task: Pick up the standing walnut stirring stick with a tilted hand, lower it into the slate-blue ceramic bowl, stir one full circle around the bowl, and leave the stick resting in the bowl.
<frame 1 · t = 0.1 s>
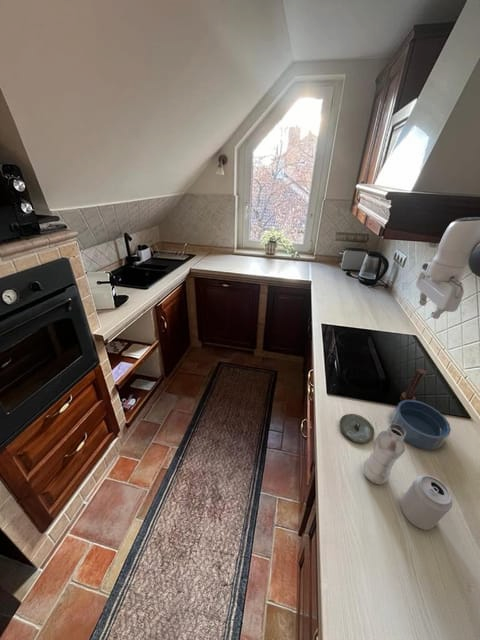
hand: (427, 310, 86), 34 cm above the worktop, tool pointing down, fingers open, 8 cm apart
can: (415, 513, 64), on the worktop
lid: (355, 431, 84), on the worktop
bowl: (415, 430, 85), on the worktop
stirring stick: (406, 401, 95), on the worktop
plastic bottle: (373, 475, 72), on the worktop
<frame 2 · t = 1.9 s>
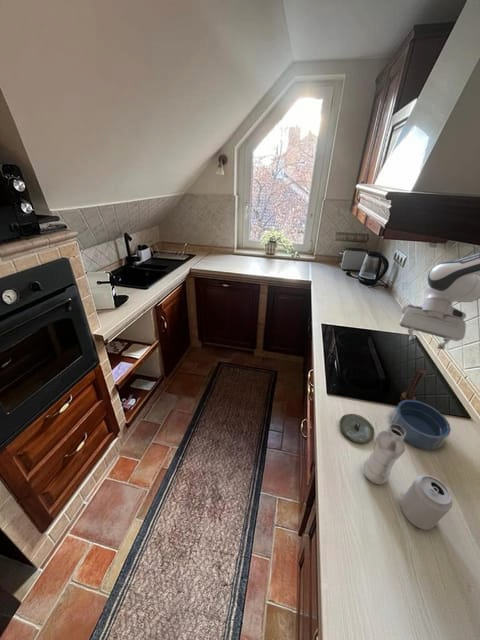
hand: (425, 344, 94), 19 cm above the worktop, tool tilted 45°, fingers open, 8 cm apart
nothing on the worktop moved.
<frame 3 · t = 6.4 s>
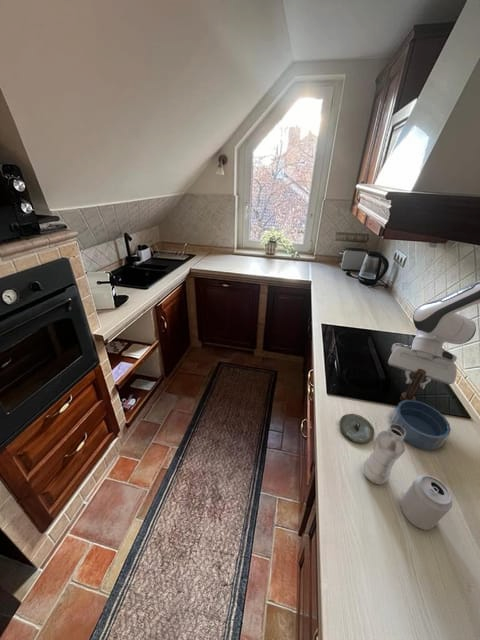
hand: (414, 386, 91), 8 cm above the worktop, tool tilted 45°, fingers closed on stirring stick, 2 cm apart
stirring stick: (406, 401, 95), on the worktop, touching gripper
everything else where it was.
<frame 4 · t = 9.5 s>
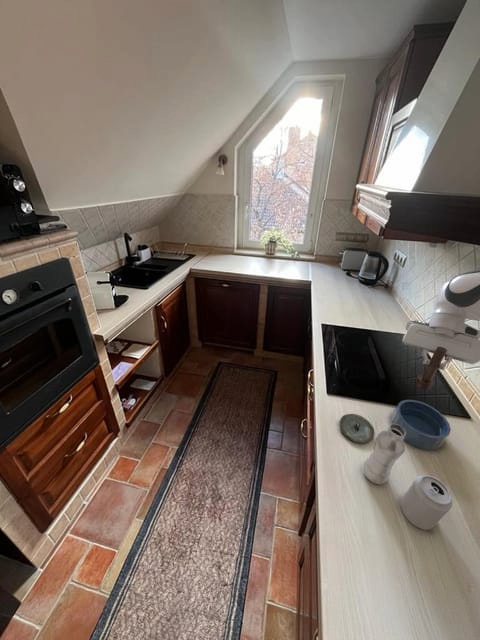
hand: (433, 366, 81), 21 cm above the worktop, tool tilted 45°, fingers closed on stirring stick, 2 cm apart
stirring stick: (423, 384, 85), point 13 cm above the worktop, touching gripper
everything else where it was.
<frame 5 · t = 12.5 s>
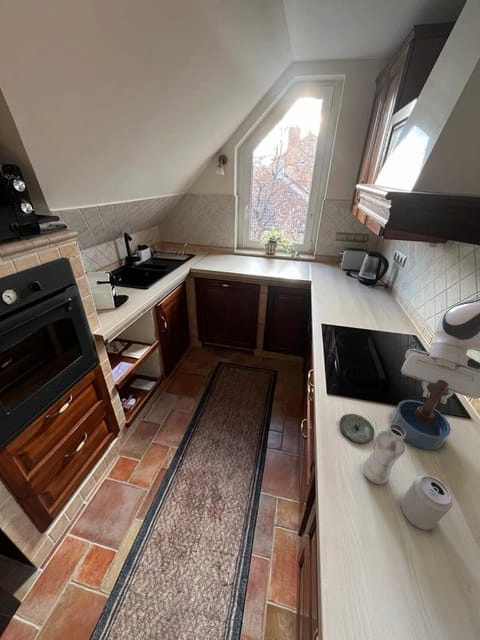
hand: (433, 400, 77), 15 cm above the worktop, tool tilted 45°, fingers closed on stirring stick, 2 cm apart
stirring stick: (422, 417, 81), point 7 cm above the worktop, touching gripper
everything else where it was.
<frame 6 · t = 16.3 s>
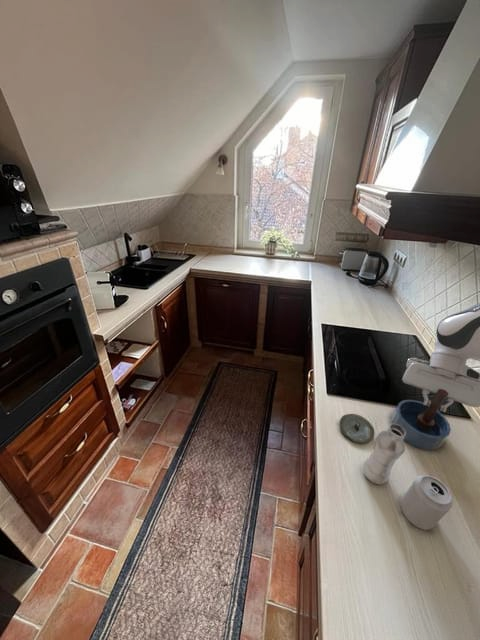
hand: (434, 408, 79), 11 cm above the worktop, tool tilted 45°, fingers closed on stirring stick, 2 cm apart
stirring stick: (423, 424, 84), point 3 cm above the worktop, touching gripper
everything else where it was.
when the fingers open (9 cm above the worktop, at t = 18.9 s): stirring stick stays where it is, resting on bowl.
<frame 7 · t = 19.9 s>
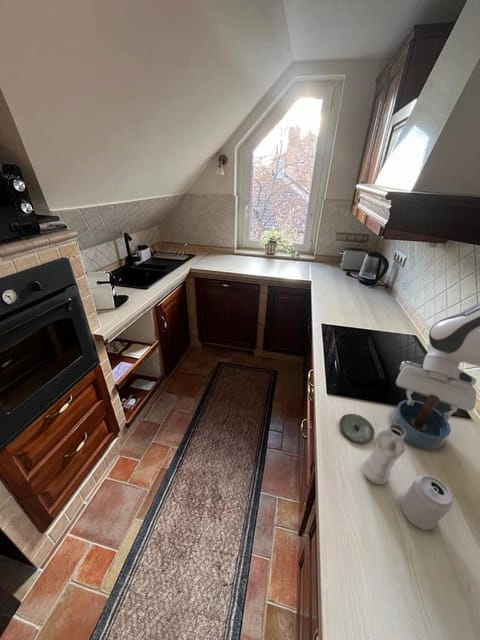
hand: (427, 411, 79), 10 cm above the worktop, tool tilted 45°, fingers open, 8 cm apart
stirring stick: (415, 429, 84), point 1 cm above the worktop, touching bowl
everything else where it was.
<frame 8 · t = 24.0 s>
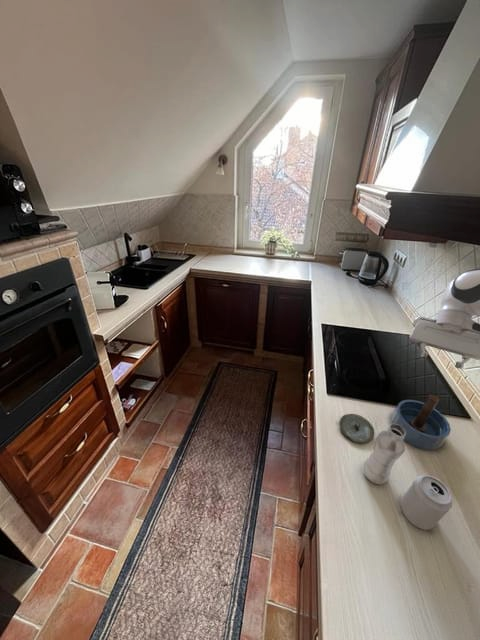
hand: (440, 362, 82), 21 cm above the worktop, tool tilted 45°, fingers open, 8 cm apart
nothing on the worktop moved.
at the end: stirring stick inside the target area in the bowl (0.1 cm from its centre), point 0.6 cm above the bowl's base; the gripper is holding nothing; stirring stick moved 13.2 cm from its start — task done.
